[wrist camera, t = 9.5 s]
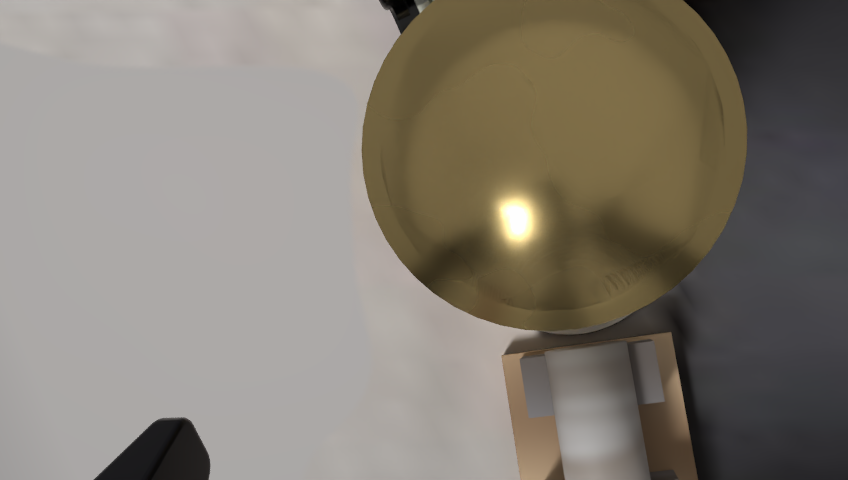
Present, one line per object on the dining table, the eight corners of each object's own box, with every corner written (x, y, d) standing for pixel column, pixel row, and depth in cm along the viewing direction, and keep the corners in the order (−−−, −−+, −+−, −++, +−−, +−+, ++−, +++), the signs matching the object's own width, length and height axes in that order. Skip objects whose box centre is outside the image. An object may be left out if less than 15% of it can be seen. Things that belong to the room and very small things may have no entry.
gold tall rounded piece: (615, 343, 22) (663, 391, 9) (457, 281, 23) (308, 250, 10) (676, 183, 22) (806, 17, 9) (516, 129, 23) (439, -87, 10)
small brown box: (704, 526, 21) (723, 557, 19) (532, 542, 22) (525, 574, 20) (669, 332, 22) (682, 335, 19) (502, 354, 23) (492, 361, 20)
